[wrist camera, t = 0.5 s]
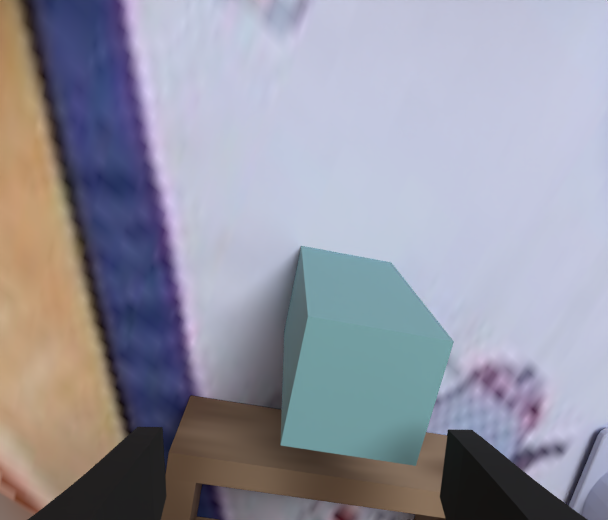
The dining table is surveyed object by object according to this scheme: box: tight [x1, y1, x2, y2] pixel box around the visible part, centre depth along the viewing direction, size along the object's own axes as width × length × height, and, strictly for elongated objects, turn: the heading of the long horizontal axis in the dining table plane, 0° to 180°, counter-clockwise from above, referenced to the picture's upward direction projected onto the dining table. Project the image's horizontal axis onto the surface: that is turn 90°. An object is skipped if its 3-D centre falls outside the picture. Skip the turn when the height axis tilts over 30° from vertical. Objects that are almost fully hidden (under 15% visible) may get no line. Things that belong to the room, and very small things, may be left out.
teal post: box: [280, 246, 454, 466], centre depth 17 cm, size 4×4×8 cm
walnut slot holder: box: [161, 396, 447, 520], centre depth 21 cm, size 13×8×4 cm, turn 79°
